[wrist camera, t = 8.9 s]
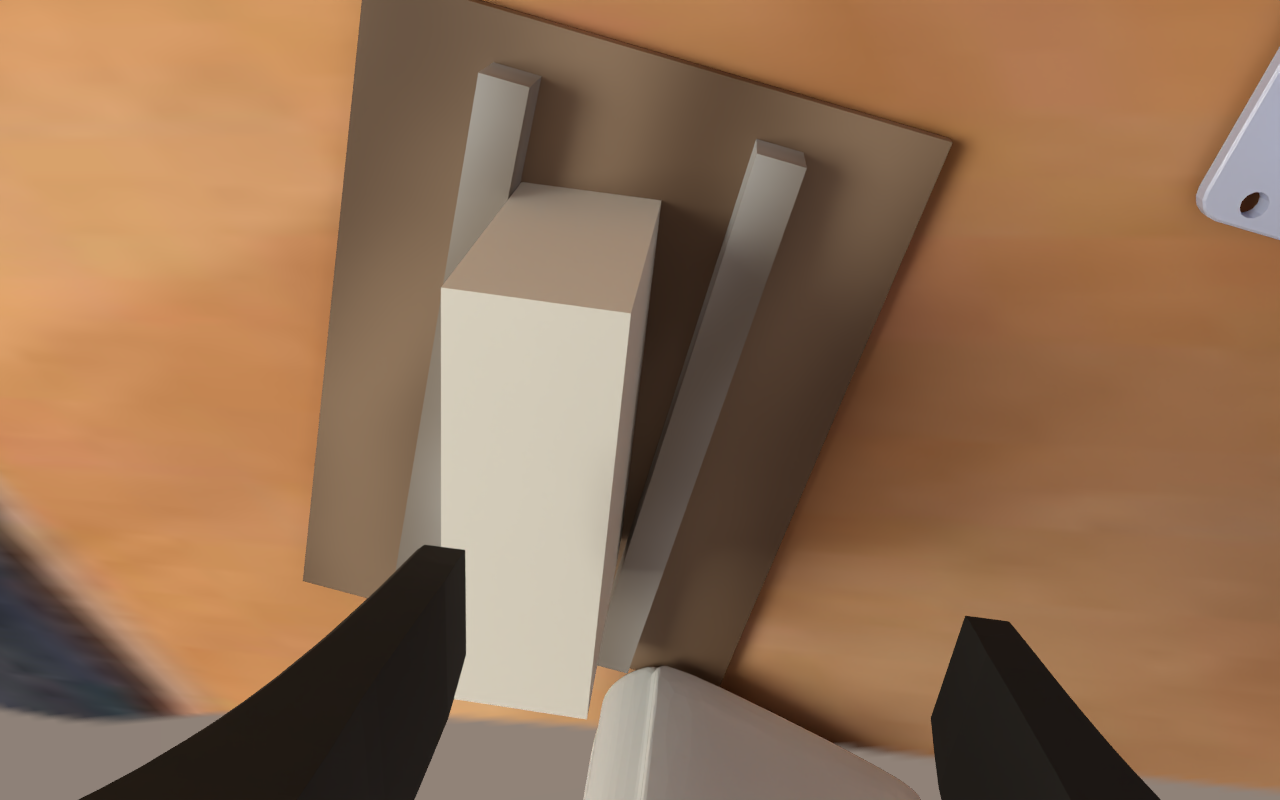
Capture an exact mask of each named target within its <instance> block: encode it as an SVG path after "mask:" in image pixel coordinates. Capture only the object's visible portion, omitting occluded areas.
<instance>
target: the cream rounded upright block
mask: <svg viewBox="0 0 1280 800" xmlns="http://www.w3.org/2000/svg"><path fill="white" fill-rule="evenodd" d="M583 800H921V799H920V797H919V796H918V795H917V794H916V793H915V792H914V790H912V789H911V788H910V787H909V786H907V785H906V784H905V783H903V782H902V781H900V780H899V779H897V778H896V777H894V776H893V775H891V774H889V773H887V772H885V771H884V770H882V769H880V768H878V767H876V766H875V765H873V764H871V763H869V762H867V761H866V760H864V759H862V758H860V757H858V756H856V755H854V754H853V753H851V752H849V751H847V750H845V749H843V748H841V747H839V746H837V745H836V744H834V743H832V742H830V741H828V740H826V739H824V738H822V737H820V736H818V735H816V734H814V733H812V732H810V731H808V730H806V729H804V728H802V727H800V726H798V725H796V724H794V723H792V722H790V721H788V720H786V719H784V718H783V717H781V716H778V715H776V714H774V713H772V712H770V711H768V710H766V709H764V708H762V707H760V706H758V705H756V704H754V703H752V702H750V701H748V700H746V699H744V698H741V697H739V696H737V695H735V694H733V693H731V692H729V691H727V690H725V689H722V688H720V687H718V686H716V685H714V684H711V683H709V682H707V681H705V680H702V679H700V678H698V677H696V676H693V675H691V674H688V673H686V672H683V671H680V670H677V669H674V668H671V667H669V666H661V667H658V668H656V667H646V668H641V669H638V670H636V671H633V672H631V673H629V674H627V675H625V676H623V677H622V678H620V679H619V680H618V681H617V682H615V683H614V684H613V685H612V686H611V688H610V689H609V690H608V692H607V693H606V695H605V697H604V700H603V703H602V708H601V714H600V720H599V726H598V729H597V732H596V735H595V739H594V743H593V748H592V753H591V758H590V764H589V769H588V776H587V782H586V787H585V793H584V799H583Z"/></svg>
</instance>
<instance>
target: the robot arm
mask: <svg viewBox="0 0 1280 800" xmlns="http://www.w3.org/2000/svg"><path fill="white" fill-rule="evenodd" d="M1254 192H1259V195H1260V198H1259V201H1258V203H1257V204H1256V205H1255V207H1254V208H1253V209H1251V210H1249V211H1246V212H1241V211H1240V206H1241V202H1242V201H1243V200H1244V199H1245V198H1246V197H1247V196H1248V195H1250V194H1252V193H1254ZM1196 204H1197V206H1198V208H1199V209H1200V211H1201V212H1202V213H1203V214H1204V215H1206V216H1207V217H1209V218H1211V219H1213V220H1214V221H1217V222H1220V223H1224V224H1227V225H1230V226H1234V227H1237V228H1241V229H1244V230H1247V231H1251V232H1254V233H1258V234H1261V235H1264V236H1268V237H1271V238H1275V239H1278V240H1280V47H1279V49H1278V51H1277V52H1276V54H1275V56H1274V58H1273V59H1272V61H1271V63H1270V64H1269V66H1268V68H1267V70H1266V71H1265V73H1264V75H1263V77H1262V78H1261V80H1260V82H1259V84H1258V85H1257V87H1256V89H1255V91H1254V92H1253V94H1252V96H1251V97H1250V99H1249V101H1248V103H1247V104H1246V106H1245V108H1244V110H1243V111H1242V113H1241V115H1240V117H1239V118H1238V120H1237V122H1236V124H1235V125H1234V127H1233V129H1232V130H1231V132H1230V134H1229V136H1228V137H1227V139H1226V141H1225V143H1224V144H1223V146H1222V148H1221V150H1220V151H1219V153H1218V155H1217V157H1216V158H1215V160H1214V162H1213V163H1212V165H1211V167H1210V169H1209V170H1208V172H1207V174H1206V176H1205V177H1204V179H1203V181H1202V183H1201V184H1200V186H1199V189H1198V191H1197V194H1196ZM465 657H466V576H465V550H462V549H454V548H447V547H439V546H432V545H423V546H422V547H420V548H419V549H417V550H416V551H415V552H414V553H413V554H412V555H411V556H410V557H409V558H408V559H407V560H406V561H405V562H404V563H403V564H402V565H401V566H400V567H399V568H398V569H397V570H396V571H395V572H394V573H393V574H392V575H391V576H390V577H389V578H388V579H387V580H386V581H385V582H384V583H383V584H382V585H381V586H380V587H379V588H378V589H377V590H376V591H375V592H374V593H373V594H372V595H371V596H370V597H369V598H368V599H366V600H365V601H364V602H363V603H362V604H361V605H360V606H359V607H358V608H357V609H356V610H355V611H354V612H352V613H351V614H350V615H349V616H348V617H347V618H346V619H345V620H344V621H342V622H341V623H340V624H339V625H338V626H337V627H336V628H335V629H334V630H333V631H331V632H330V633H329V634H328V635H327V636H326V637H325V638H324V639H322V640H321V641H320V642H319V643H318V644H316V645H315V646H314V647H313V648H312V649H310V650H309V651H308V652H307V653H305V654H304V655H303V656H302V657H301V658H299V659H298V660H297V661H296V662H294V663H293V664H292V665H291V666H290V667H288V668H287V669H286V670H285V671H283V672H282V673H281V674H280V675H279V676H277V677H276V678H275V679H273V680H272V681H271V682H269V683H268V684H267V685H265V686H264V687H263V688H261V689H260V690H259V691H258V692H256V693H255V694H253V695H252V696H251V697H249V698H248V699H247V700H245V701H244V702H242V703H241V704H240V705H238V706H237V707H235V708H234V709H232V710H231V711H229V712H228V713H227V714H225V715H224V716H222V717H221V718H219V719H218V720H216V721H215V722H213V723H212V724H210V725H209V726H207V727H206V728H204V729H203V730H201V731H199V732H198V733H196V734H195V735H193V736H191V737H190V738H188V739H187V740H185V741H183V742H182V743H180V744H178V745H177V746H175V747H173V748H172V749H170V750H168V751H167V752H165V753H163V754H162V755H160V756H158V757H157V758H155V759H153V760H152V761H150V762H149V763H147V764H145V765H143V766H142V767H140V768H138V769H136V770H134V771H133V772H131V773H129V774H127V775H125V776H123V777H121V778H120V779H118V780H116V781H114V782H112V783H110V784H108V785H106V786H105V787H103V788H101V789H99V790H97V791H95V792H93V793H91V794H89V795H87V796H85V797H83V798H81V799H79V800H414V799H415V797H416V794H417V792H418V790H419V787H420V785H421V782H422V780H423V778H424V775H425V773H426V771H427V768H428V765H429V763H430V761H431V759H432V756H433V754H434V751H435V749H436V746H437V744H438V742H439V739H440V737H441V734H442V732H443V729H444V727H445V725H446V722H447V720H448V717H449V713H450V710H451V706H452V703H453V700H454V696H455V693H456V689H457V686H458V682H459V679H460V675H461V671H462V668H463V664H464V660H465ZM931 724H932V734H933V743H934V753H935V762H936V769H937V777H938V785H939V790H940V795H941V799H942V800H1160V799H1159V797H1158V796H1157V795H1156V794H1155V793H1154V792H1153V791H1152V790H1151V789H1150V788H1149V787H1148V786H1147V785H1146V784H1145V783H1144V781H1143V780H1142V779H1141V778H1140V777H1139V776H1138V775H1137V774H1136V773H1135V772H1134V771H1133V770H1132V769H1131V768H1130V766H1129V765H1128V764H1127V763H1126V762H1125V761H1124V760H1123V759H1122V758H1121V756H1120V755H1119V754H1118V753H1117V752H1116V751H1115V750H1114V749H1113V747H1112V746H1111V745H1110V744H1109V743H1108V742H1107V741H1106V739H1105V738H1104V737H1103V736H1102V735H1101V734H1100V732H1099V731H1098V730H1097V729H1096V728H1095V727H1094V725H1093V724H1092V723H1091V722H1090V721H1089V719H1088V718H1087V717H1086V716H1085V715H1084V714H1083V712H1082V711H1081V710H1080V709H1079V707H1078V706H1077V705H1076V704H1075V703H1074V701H1073V700H1072V699H1071V698H1070V697H1069V695H1068V694H1067V693H1066V692H1065V690H1064V689H1063V688H1062V687H1061V685H1060V684H1059V683H1058V682H1057V680H1056V679H1055V678H1054V677H1053V676H1052V674H1051V673H1050V672H1049V671H1048V669H1047V668H1046V667H1045V666H1044V664H1043V663H1042V662H1041V661H1040V659H1039V658H1038V657H1037V655H1036V654H1035V653H1034V652H1033V650H1032V649H1031V648H1030V647H1029V645H1028V644H1027V643H1026V642H1025V640H1024V639H1023V638H1022V637H1021V635H1020V634H1019V633H1018V632H1017V631H1016V629H1015V628H1014V627H1013V626H1012V625H1011V623H1010V622H1008V621H1001V620H993V619H986V618H978V617H970V616H965V619H964V621H963V624H962V627H961V630H960V633H959V636H958V639H957V642H956V645H955V648H954V651H953V654H952V657H951V660H950V663H949V666H948V669H947V672H946V675H945V678H944V681H943V684H942V687H941V690H940V693H939V695H938V698H937V701H936V704H935V707H934V710H933V713H932V716H931Z"/></svg>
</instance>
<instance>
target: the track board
mask: <svg viewBox="0 0 1280 800" xmlns="http://www.w3.org/2000/svg"><path fill="white" fill-rule="evenodd" d="M952 143H953V142H952V141H951V140H950V139H949V138H947V137H944V136H941V135H937V134H934V133H930V132H927V131H924V130H920V129H917V128H913V127H910V126H907V125H903V124H900V123H896V122H893V121H890V120H886V119H883V118H879V117H876V116H873V115H869V114H866V113H862V112H859V111H856V110H852V109H849V108H845V107H842V106H839V105H835V104H832V103H828V102H825V101H822V100H818V99H815V98H811V97H808V96H805V95H801V94H798V93H794V92H791V91H788V90H784V89H781V88H777V87H774V86H771V85H767V84H764V83H760V82H757V81H753V80H750V79H747V78H743V77H740V76H736V75H733V74H730V73H726V72H723V71H719V70H716V69H713V68H709V67H706V66H702V65H699V64H696V63H692V62H689V61H685V60H682V59H679V58H675V57H672V56H668V55H665V54H662V53H658V52H655V51H651V50H648V49H645V48H641V47H638V46H634V45H631V44H628V43H624V42H621V41H617V40H614V39H611V38H607V37H604V36H600V35H597V34H594V33H590V32H587V31H583V30H580V29H577V28H573V27H570V26H566V25H563V24H559V23H556V22H553V21H549V20H546V19H542V18H539V17H536V16H532V15H529V14H525V13H522V12H519V11H515V10H512V9H508V8H505V7H502V6H498V5H495V4H491V3H488V2H485V1H481V0H362V6H361V15H360V25H359V35H358V45H357V55H356V64H355V74H354V84H353V94H352V104H351V114H350V123H349V133H348V143H347V153H346V163H345V173H344V182H343V192H342V202H341V212H340V222H339V232H338V241H337V251H336V261H335V271H334V281H333V291H332V300H331V310H330V320H329V330H328V340H327V350H326V359H325V369H324V379H323V389H322V399H321V408H320V418H319V428H318V438H317V448H316V458H315V467H314V477H313V487H312V497H311V507H310V517H309V526H308V536H307V546H306V556H305V566H304V576H303V581H305V582H309V583H312V584H316V585H320V586H324V587H327V588H331V589H335V590H339V591H342V592H346V593H350V594H354V595H357V596H361V597H365V598H369V597H370V596H371V595H372V594H373V593H374V592H375V591H376V590H377V589H378V588H379V587H380V586H381V585H382V584H383V583H384V582H385V581H386V580H387V579H388V578H389V577H390V576H391V575H392V574H393V573H394V572H395V571H396V570H397V569H398V568H399V567H400V566H401V565H402V564H403V563H404V562H405V561H406V560H407V559H408V558H409V557H410V556H411V555H412V554H413V553H414V552H415V551H416V550H417V549H419V548H420V547H422V546H423V545H432V546H439V547H441V287H442V285H443V284H444V283H445V281H446V280H447V279H448V277H449V276H450V275H451V274H452V272H453V271H454V270H455V268H456V267H457V266H458V264H459V263H460V262H461V261H462V259H463V258H464V257H465V255H466V254H467V253H468V251H469V250H470V249H471V247H472V246H473V245H474V244H475V242H476V241H477V240H478V238H479V237H480V236H481V234H482V233H483V232H484V230H485V229H486V228H487V227H488V225H489V224H490V223H491V221H492V220H493V219H494V217H495V216H496V215H497V213H498V212H499V211H500V210H501V208H502V207H503V206H504V204H505V203H506V202H507V200H508V199H509V198H510V196H511V195H512V194H513V193H514V191H515V190H516V189H517V187H518V186H519V185H520V183H521V182H526V183H534V184H541V185H549V186H556V187H564V188H571V189H579V190H586V191H594V192H601V193H609V194H616V195H624V196H632V197H639V198H647V199H654V200H661V209H660V217H659V226H658V234H657V243H656V251H655V259H654V268H653V276H652V285H651V293H650V301H649V310H648V318H647V327H646V335H645V344H644V352H643V360H642V369H641V377H640V386H639V394H638V403H637V411H636V419H635V428H634V436H633V445H632V453H631V461H630V470H629V478H628V487H627V495H626V504H625V512H624V520H623V529H622V537H621V543H620V548H619V553H618V559H617V564H616V569H615V574H614V580H613V585H612V590H611V595H610V600H609V606H608V611H607V616H606V621H605V627H604V632H603V637H602V642H601V648H600V653H599V658H598V663H597V665H598V666H602V667H605V668H609V669H613V670H617V671H620V672H624V673H628V671H629V668H631V669H634V670H638V669H641V668H646V667H656V668H658V667H661V666H669V667H671V668H674V669H677V670H680V671H683V672H686V673H688V674H691V675H693V676H696V677H698V678H700V679H702V680H705V681H707V682H709V683H711V684H714V685H716V686H718V687H719V686H720V684H721V681H722V679H723V677H724V674H725V672H726V670H727V667H728V665H729V663H730V660H731V658H732V656H733V653H734V651H735V649H736V646H737V644H738V642H739V639H740V637H741V635H742V632H743V630H744V628H745V625H746V623H747V621H748V618H749V616H750V614H751V611H752V609H753V607H754V604H755V602H756V600H757V598H758V595H759V593H760V591H761V588H762V586H763V584H764V581H765V579H766V577H767V574H768V572H769V570H770V567H771V565H772V563H773V560H774V558H775V556H776V553H777V551H778V549H779V546H780V544H781V542H782V539H783V537H784V535H785V532H786V530H787V528H788V525H789V523H790V521H791V518H792V516H793V514H794V511H795V509H796V507H797V504H798V502H799V500H800V497H801V495H802V493H803V490H804V488H805V486H806V483H807V481H808V479H809V476H810V474H811V472H812V469H813V467H814V465H815V462H816V460H817V458H818V455H819V453H820V451H821V448H822V446H823V444H824V441H825V439H826V437H827V434H828V432H829V430H830V427H831V425H832V423H833V420H834V418H835V416H836V413H837V411H838V409H839V406H840V404H841V402H842V399H843V397H844V395H845V392H846V390H847V388H848V385H849V383H850V381H851V378H852V376H853V374H854V371H855V369H856V367H857V364H858V362H859V360H860V357H861V355H862V353H863V350H864V348H865V346H866V343H867V341H868V339H869V336H870V334H871V332H872V329H873V327H874V325H875V322H876V320H877V318H878V315H879V313H880V311H881V308H882V306H883V304H884V301H885V299H886V297H887V294H888V292H889V290H890V287H891V285H892V283H893V280H894V278H895V276H896V273H897V271H898V269H899V266H900V264H901V262H902V259H903V257H904V255H905V252H906V250H907V248H908V245H909V243H910V241H911V238H912V236H913V234H914V231H915V229H916V227H917V224H918V222H919V220H920V217H921V215H922V213H923V210H924V208H925V206H926V203H927V201H928V199H929V197H930V194H931V192H932V190H933V187H934V185H935V183H936V180H937V178H938V176H939V173H940V171H941V169H942V166H943V164H944V162H945V159H946V157H947V155H948V152H949V150H950V148H951V145H952Z"/></svg>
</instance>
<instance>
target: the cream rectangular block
mask: <svg viewBox="0 0 1280 800" xmlns="http://www.w3.org/2000/svg"><path fill="white" fill-rule="evenodd" d="M660 209H661V200H654V199H647V198H639V197H632V196H624V195H616V194H609V193H601V192H594V191H586V190H579V189H571V188H564V187H556V186H549V185H541V184H534V183H526V182H521V183H520V185H519V186H518V187H517V189H516V190H515V191H514V193H513V194H512V195H511V196H510V198H509V199H508V200H507V202H506V203H505V204H504V206H503V207H502V208H501V210H500V211H499V212H498V213H497V215H496V216H495V217H494V219H493V220H492V221H491V223H490V224H489V225H488V227H487V228H486V229H485V230H484V232H483V233H482V234H481V236H480V237H479V238H478V240H477V241H476V242H475V244H474V245H473V246H472V247H471V249H470V250H469V251H468V253H467V254H466V255H465V257H464V258H463V259H462V261H461V262H460V263H459V264H458V266H457V267H456V268H455V270H454V271H453V272H452V274H451V275H450V276H449V277H448V279H447V280H446V281H445V283H444V284H443V285H442V287H441V547H447V548H454V549H462V550H465V576H466V657H465V660H464V664H463V668H462V671H461V675H460V679H459V682H458V686H457V689H456V693H455V696H454V699H457V700H464V701H470V702H477V703H484V704H490V705H497V706H503V707H510V708H516V709H523V710H529V711H536V712H542V713H549V714H555V715H562V716H568V717H575V718H581V719H587V716H588V710H589V705H590V700H591V695H592V689H593V684H594V679H595V674H596V668H597V663H598V658H599V653H600V648H601V642H602V637H603V632H604V627H605V621H606V616H607V611H608V606H609V600H610V595H611V590H612V585H613V580H614V574H615V569H616V564H617V559H618V553H619V548H620V543H621V537H622V529H623V520H624V512H625V504H626V495H627V487H628V478H629V470H630V461H631V453H632V445H633V436H634V428H635V419H636V411H637V403H638V394H639V386H640V377H641V369H642V360H643V352H644V344H645V335H646V327H647V318H648V310H649V301H650V293H651V285H652V276H653V268H654V259H655V251H656V243H657V234H658V226H659V217H660Z"/></svg>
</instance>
